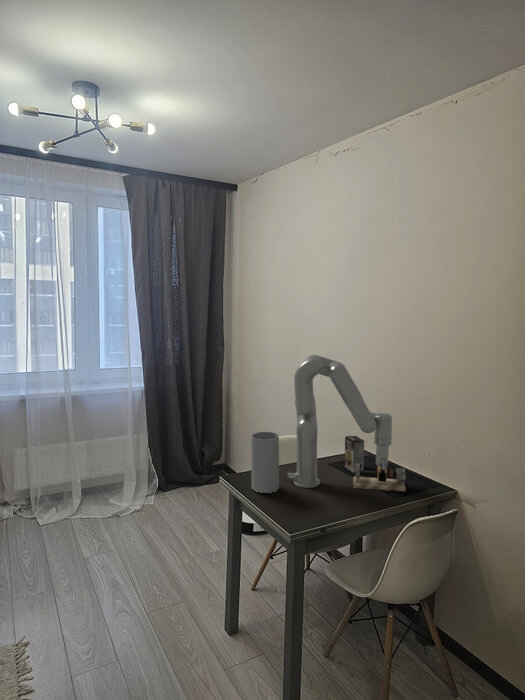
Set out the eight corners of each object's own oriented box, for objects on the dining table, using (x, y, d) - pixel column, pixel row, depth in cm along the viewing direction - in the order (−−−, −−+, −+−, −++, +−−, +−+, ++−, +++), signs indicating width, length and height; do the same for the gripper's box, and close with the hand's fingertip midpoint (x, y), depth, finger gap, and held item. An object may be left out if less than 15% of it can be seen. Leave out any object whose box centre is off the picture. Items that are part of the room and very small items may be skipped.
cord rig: (353, 487, 210) (353, 469, 209) (353, 479, 220) (353, 462, 219) (405, 491, 206) (406, 472, 205) (403, 482, 216) (403, 465, 215)
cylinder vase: (279, 494, 204) (279, 439, 201) (251, 494, 204) (250, 440, 201) (278, 483, 216) (278, 431, 213) (251, 483, 216) (251, 431, 213)
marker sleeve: (377, 478, 211) (378, 470, 210) (377, 475, 215) (377, 466, 214) (386, 479, 210) (387, 470, 210) (386, 475, 214) (386, 467, 214)
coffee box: (344, 466, 237) (344, 436, 235) (355, 465, 239) (355, 435, 237) (352, 473, 228) (353, 441, 227) (364, 471, 230) (364, 440, 229)
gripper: (373, 434, 219) (372, 471, 221) (375, 445, 203) (374, 485, 205) (389, 435, 218) (388, 472, 220) (393, 446, 202) (392, 486, 204)
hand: (382, 478), depth 212 cm, fingers closed on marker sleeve, 4 cm apart
